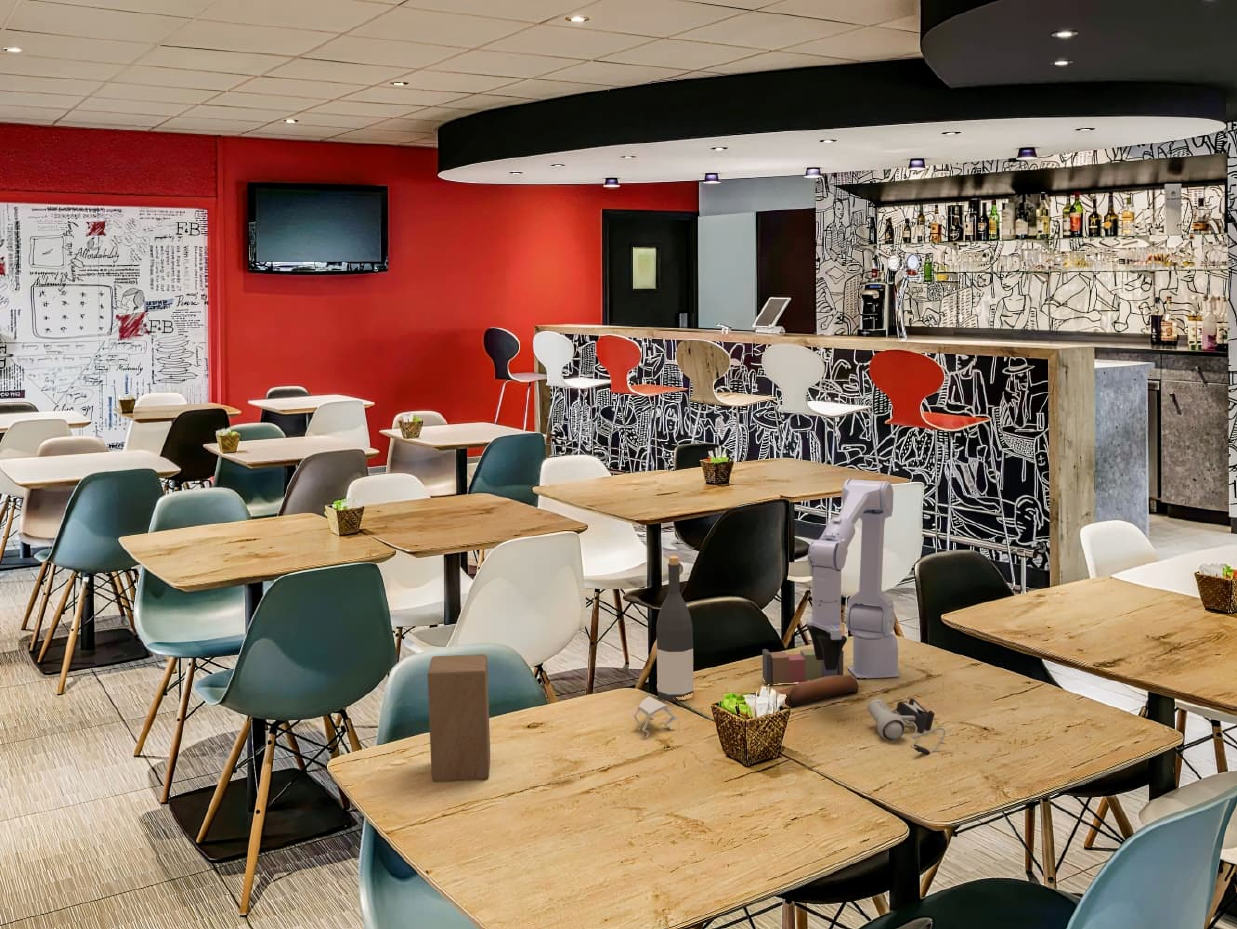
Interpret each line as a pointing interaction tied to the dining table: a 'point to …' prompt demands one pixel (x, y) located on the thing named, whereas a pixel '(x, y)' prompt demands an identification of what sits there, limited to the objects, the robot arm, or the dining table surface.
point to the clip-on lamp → (894, 725)
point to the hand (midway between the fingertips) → (826, 664)
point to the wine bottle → (674, 641)
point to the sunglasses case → (819, 689)
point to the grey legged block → (653, 711)
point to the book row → (796, 667)
